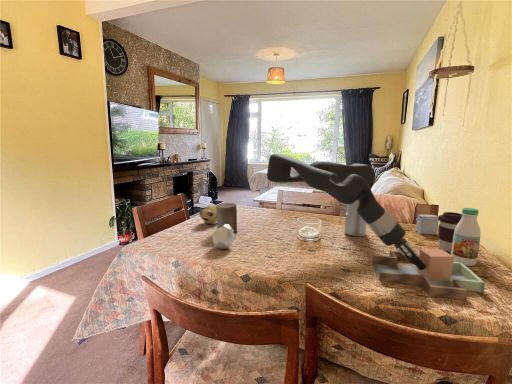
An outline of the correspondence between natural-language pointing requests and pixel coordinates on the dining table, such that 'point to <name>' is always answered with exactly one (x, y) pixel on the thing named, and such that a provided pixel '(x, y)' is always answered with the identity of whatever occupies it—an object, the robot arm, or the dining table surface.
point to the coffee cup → (447, 229)
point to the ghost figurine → (223, 237)
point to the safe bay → (468, 278)
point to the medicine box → (427, 224)
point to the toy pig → (209, 214)
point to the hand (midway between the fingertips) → (423, 268)
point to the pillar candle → (227, 215)
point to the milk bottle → (466, 238)
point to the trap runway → (417, 277)
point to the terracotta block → (436, 264)
